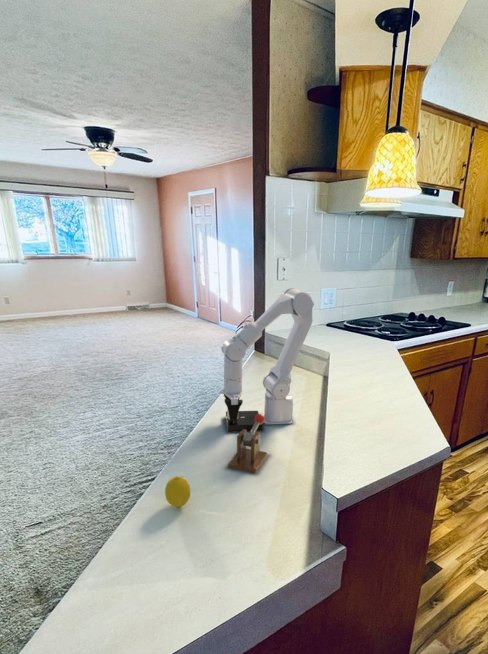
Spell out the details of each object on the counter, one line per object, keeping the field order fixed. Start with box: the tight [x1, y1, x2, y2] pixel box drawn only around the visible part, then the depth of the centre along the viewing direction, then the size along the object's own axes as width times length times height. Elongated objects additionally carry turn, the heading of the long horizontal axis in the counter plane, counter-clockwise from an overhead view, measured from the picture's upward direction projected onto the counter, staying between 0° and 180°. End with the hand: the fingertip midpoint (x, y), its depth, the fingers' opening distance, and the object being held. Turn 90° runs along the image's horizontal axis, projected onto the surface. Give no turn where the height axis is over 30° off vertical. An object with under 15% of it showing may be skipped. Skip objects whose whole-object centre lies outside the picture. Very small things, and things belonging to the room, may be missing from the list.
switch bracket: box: [227, 429, 268, 474], centre depth 113 cm, size 10×8×9 cm
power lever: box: [243, 413, 264, 448], centre depth 115 cm, size 12×3×3 cm, turn 164°
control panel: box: [220, 410, 263, 433], centre depth 135 cm, size 13×11×3 cm
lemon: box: [164, 475, 191, 508], centre depth 93 cm, size 6×6×8 cm
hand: (232, 416), depth 134 cm, fingers closed on dial, 3 cm apart
